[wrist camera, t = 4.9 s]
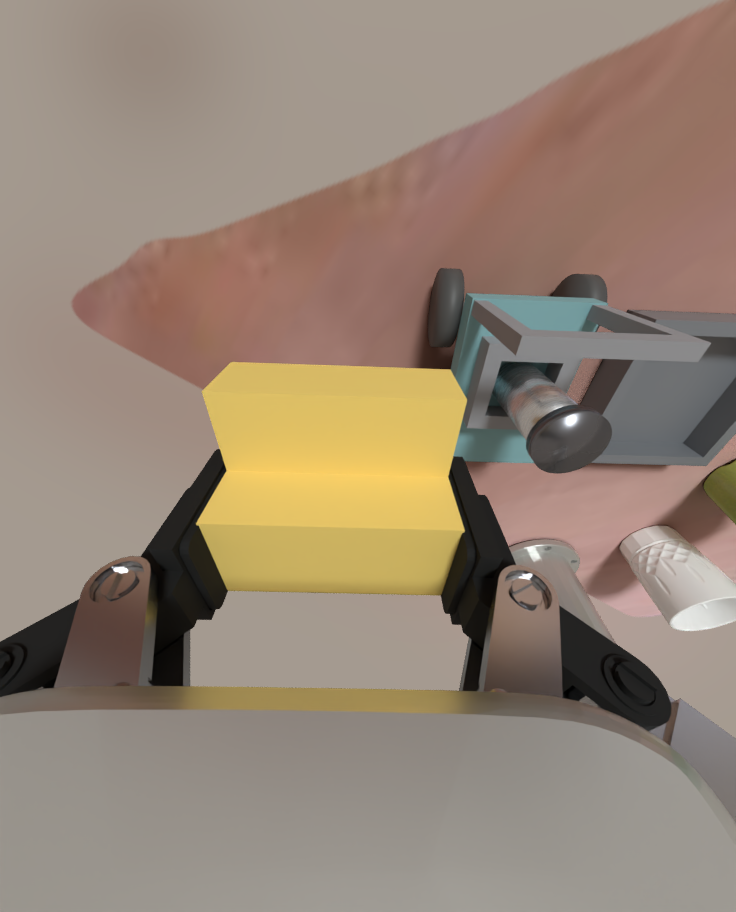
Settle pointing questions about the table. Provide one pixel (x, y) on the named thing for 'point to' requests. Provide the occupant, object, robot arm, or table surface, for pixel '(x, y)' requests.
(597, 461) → the tray
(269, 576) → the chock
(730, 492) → the plant pot
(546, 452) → the pin
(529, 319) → the trolley
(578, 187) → the table surface
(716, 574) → the white cup
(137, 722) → the robot arm
